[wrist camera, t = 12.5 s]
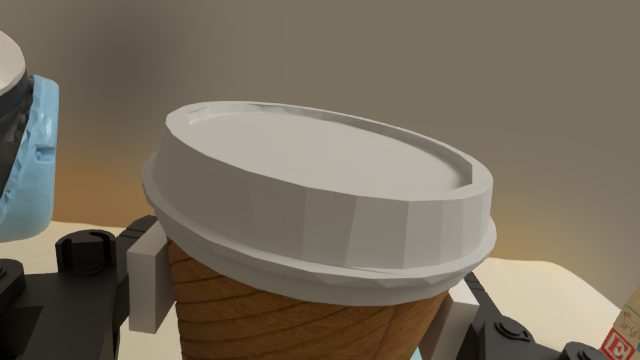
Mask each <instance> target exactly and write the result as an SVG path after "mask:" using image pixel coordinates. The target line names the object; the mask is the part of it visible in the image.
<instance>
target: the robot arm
mask: <svg viewBox="0 0 640 360" xmlns="http://www.w3.org/2000/svg"><path fill="white" fill-rule="evenodd" d="M58 105H59V87H58V85H57V84H56V83H55V82H54V81H52V80H49V79H45V78H43V77H40V76H39V75H31V76H28V75H27V70H26V66H25V60H24V57H23V54H22V52H21V50H20V48H19V46H18V45H17V44H16V43H15V42H14V41H13V40H12V39H11V38H10V37H8V36H7V35H6V34H4V33H3V32H1V31H0V243H4V242H10V241H16V240H22V239H27V238H31V237H34V236H36V235H38V234H40V233H41V232H42V231H44V230H45V229H46V228H47V227H48V225H49V224H50V221H51V219H52V214H53V200H54V181H55V160H56V142H57V127H58ZM168 247H169V245H168V244H167V237H166V234H165V232H164V230H163V228H162V226H161V224H160V222H159V221H158V219H157V217H156V216H151V215H147V216H145V217H142V218H140V219H138V220H135V221H134V222H133V223H132V224H131V225H130V226H128V227H127V228H126V230H124V231H123V232H122V233H120V234H119V236H117V237H116V238H115V235H113V234H112V233H110V232H108V231H104V230H95V229H90V230H82V231H77V232H74V233H70V234H68V235H66V236H64V237H62V238H60V239H59V240H58V241H57V242H56V244H55V248H56V257H57V265H58V272H57V273H46V274H27V275H24V269H23V265H22V263H20V262H19V261H17V260H12V259H0V360H117V359H118V351H119V344H120V326H121V325H122V324H123V322H124V321H125V320H126V318H127V317H128V316H129V330H130V331H137V332H144V333H151V334H155V333H156V332H157V330H158V328H159V327H160V325H161V323H162V322H163V320H164V318H165V317H166V315H167V313H168V312H169V310H170V308H171V307H172V305H173V304H174V302H175V298H174V292H173V286H174V284H175V283H172V276H171V270H170V268H171V266H172V264H170V263H169V257H168ZM418 349H419V352H420V355H421V358H422V360H611V359H610V358H608V357H607V356H606V355H604V354H603V353H602V352H600V351H599V350H596V349H595V348H593V347H591V346H588V345H585V344H583V343H579V342H569V343H567V344H566V345H565V347H564V349H563V351H562V352H558V351H556V350H553V349H550V348H548V347H545V346H542V345H540V344H537V343H535V341H534V338H533V336H532V334H531V333H530V332H529V331H528V330H527V329H526V328H525V327H524V326H522V325H521V324H520V323H518V322H517V321H515V320H513V319H511V318H509V317H506V316H503V315H502V314H501V313H500V311H499V310H498V308H497V307H496V306H495V304H494V303H493V301H492V300H491V298H490V297H489V295H488V294H487V292H485V289H484V288H483V286H482V285H481V284H480V282H479V281H478V279H477V278H476V276H475V275H474V273H473V272H472V271H471V272H470V273H468V274H467V275H466V276H465V277H464V278H463V279H462V280H461V281H460V282H459V283H458V284H457V285H456V286H454V287H452V288H450V289H449V291H448V293H447V295H446V297H445V298H444V300H443V302H442V303H441V305H440V307H439V309H438V311H437V313H436V315H435V317H434V319H433V320H432V322H431V323H430V325H429V327H428V329H427V331H426V333H425V335H424V336H423V338H422V339H421V341H420V343H419V345H418Z"/></svg>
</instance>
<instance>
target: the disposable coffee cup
mask: <svg viewBox="0 0 640 360" xmlns="http://www.w3.org/2000/svg"><path fill="white" fill-rule="evenodd" d="M141 180H142V186H143V189H144V193H145V196H146V199H147V202H148V203H149V204H150V205H151V206H152V207H153V209H154V211H155V215H156V217H157V219H158V221H159V222H160V224H161V226H162V228H163V230H164V232H165V234H166V237H167V244H168V245H169V247H168V257H169V263H170V264H172V266H171V268H170V270H171V276H172V283H175V284H174V286H173V292H174V298H175V301H177V303H176V304H175V307H176V313H177V318H178V329H179V334H180V344H181V349H182V352H181V353H182V359H183V360H410V359H411V357H412V355H413V354H414V352H415V350H416V349H417V347H418V345H419V343H420V341H421V339H422V338H423V336H424V335H425V333H426V331H427V329H428V327H429V325H430V323H431V322H432V320H433V319H434V317H435V315H436V313H437V311H438V309H439V307H440V305H441V303H442V302H443V300H444V298H445V297H446V295H447V293H448V291H449V289H450V288H452V287H454V286H456V285H457V284H458V283H459V282H460V281H461V280H462V279H463V278H464V277H465V276H466V275H467V274H468V273H470V272H471V271H472V270H473V269H475V268H476V267H477V266H478V265H479V264H481V263H482V262H483V261H484V260H485V259H487V257H488V256H489V254H490V253H491V251H492V249H493V248H494V244H495V241H496V238H497V234H496V229H495V224H494V222H493V220H492V219H491V216H490V206H491V197H492V187H493V178H492V175H491V173H490V172H489V171H488V170H487V168H486V167H484V165H482V164H481V163H480V162H478V161H477V160H475V159H474V158H472V157H471V156H469V155H467V154H465V153H463V152H461V151H459V150H457V149H455V148H453V147H451V146H449V145H447V144H445V143H442V142H440V141H437V140H434V139H432V138H429V137H426V136H424V135H421V134H418V133H415V132H412V131H409V130H405V129H402V128H398V127H394V126H391V125H388V124H384V123H380V122H377V121H373V120H370V119H365V118H361V117H356V116H351V115H346V114H342V113H337V112H332V111H326V110H320V109H314V108H309V107H301V106H294V105H285V104H276V103H262V102H249V101H217V102H204V103H196V104H191V105H187V106H183V107H181V108H179V109H178V110H176V111H174V112H172V113H170V114H168V115H167V119H166V123H165V126H164V131H163V134H162V138H161V142H160V145H159V149H158V150H157V151H156V152H154V153H153V154H151V155H150V156H149V158H148V159H147V161H146V162H145V164H144V166H143V168H142V177H141Z"/></svg>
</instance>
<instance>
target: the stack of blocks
mask: <svg viewBox="0 0 640 360" xmlns="http://www.w3.org/2000/svg"><path fill="white" fill-rule="evenodd" d="M599 351H600V352H602V353H603V354H604V355H606V356H607V357H608V358H610V359H611V360H640V281H639V283H638V285H637V287H636V288H635V290H634V292H633V293H632V295H631V297H630V299H629V301H628V302H627V303H626V304H625V305H624V307H623V309H622V311H621V312H620V314H619V316H618V317H617V319H616V321H615V322H614V324H613V327H612V329H611V330H610V332H609V334H608V335H607V337H606V339H605V340H604V342H603V344H602V346H601V348H600V349H599Z"/></svg>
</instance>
